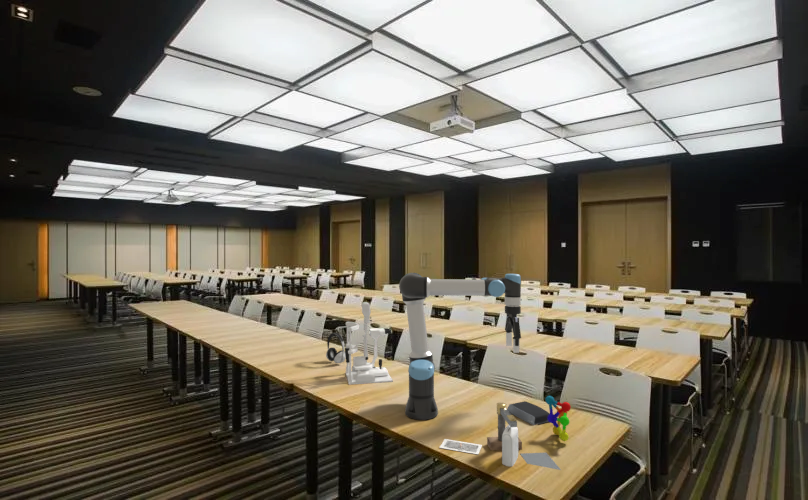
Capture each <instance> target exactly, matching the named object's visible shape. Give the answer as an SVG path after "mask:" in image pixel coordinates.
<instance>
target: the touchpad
mask: <svg viewBox="0 0 808 500" xmlns="http://www.w3.org/2000/svg"><path fill="white" fill-rule="evenodd" d="M438 447H439V449H444V450H451V451H457V452H461V453H462V452H463V453H467V454H468V453H469V454H473V455H479V454H480V452H481V449H482V447H483V444H479V443H478V444H477V443H474V442H473V443H472V442H466V441H459V440H454V439H450V438H449V439H448V438H444V439H443V441H442V443H441V444H440V445H439V446H438Z"/></svg>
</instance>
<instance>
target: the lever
mask: <svg viewBox="0 0 808 500" xmlns="http://www.w3.org/2000/svg"><path fill="white" fill-rule="evenodd" d="M496 414H497V416H498V415H502V416H503V418H504V419H505V423H506V422H507V425H510V427H517V428H518V421H517V417H516V416H515V415H513V414H511V413H510V412H509V411H508V410H507V403H506V402H505V403H504V402H497V403H496Z"/></svg>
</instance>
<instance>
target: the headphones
mask: <svg viewBox="0 0 808 500" xmlns="http://www.w3.org/2000/svg"><path fill="white" fill-rule="evenodd" d="M334 337H337V338H338V340H339V341H340V344H341V347H342V348H341V350H339V351H338V350H337V349H336V348H335V347H330V342H331V339H332V338H334ZM326 341H327V342H326V345H327V351H326V353H325V358H326V359H327V360H328V361H330V362H334V363H335V364H342V363H344V362H346V357H345V342H344V338H343V337H342V335H341V334H340V333H338V332H332V333H330V334H329V336H328V338H327V340H326Z"/></svg>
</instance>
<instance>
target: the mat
mask: <svg viewBox="0 0 808 500" xmlns="http://www.w3.org/2000/svg"><path fill="white" fill-rule="evenodd" d="M520 456H521V457H522V458H523V460H524V461H525V463H526V464H527V465H532V466H538V467H544V468H547V469H554V470H558V471H562V469H561V468H560V466H558V465H557V463H556V462H555V461H554V460H553V459H552V457H551V456H550V455H549V454H548V453H547V452H529V453H528V452H526V453H520Z"/></svg>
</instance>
